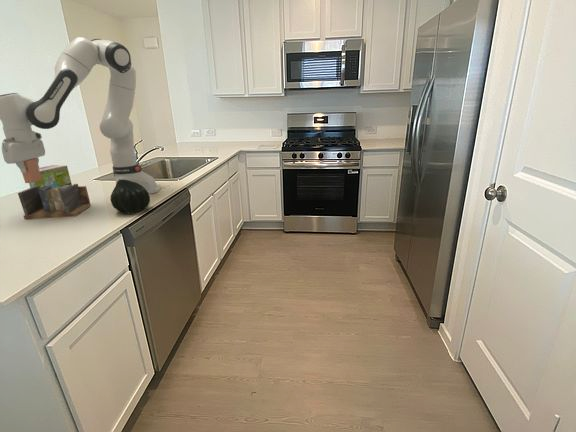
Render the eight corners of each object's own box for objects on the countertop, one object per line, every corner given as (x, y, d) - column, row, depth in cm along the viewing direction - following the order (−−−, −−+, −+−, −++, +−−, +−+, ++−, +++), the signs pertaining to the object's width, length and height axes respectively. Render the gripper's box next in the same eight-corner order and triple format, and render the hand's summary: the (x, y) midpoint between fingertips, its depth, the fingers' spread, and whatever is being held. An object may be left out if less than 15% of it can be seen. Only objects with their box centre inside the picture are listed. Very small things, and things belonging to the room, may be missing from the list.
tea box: (49, 200, 156) (40, 170, 151) (33, 199, 158) (23, 170, 153) (74, 191, 170) (67, 164, 164) (59, 191, 172) (51, 164, 166)
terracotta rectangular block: (42, 179, 135) (35, 158, 132) (33, 182, 129) (26, 161, 126) (34, 179, 135) (28, 158, 131) (25, 183, 129) (18, 161, 126)
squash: (157, 199, 135) (141, 170, 137) (122, 209, 125) (105, 178, 126) (150, 214, 145) (134, 187, 147) (117, 225, 135) (101, 196, 136)
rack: (91, 205, 145) (84, 181, 141) (75, 216, 132) (68, 190, 128) (44, 208, 143) (37, 184, 139) (24, 219, 130) (15, 192, 126)
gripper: (10, 139, 116) (22, 175, 121) (43, 133, 135) (52, 165, 140) (-9, 139, 116) (4, 176, 120) (27, 134, 135) (37, 166, 139)
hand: (30, 170), depth 130 cm, fingers closed on terracotta rectangular block, 6 cm apart
